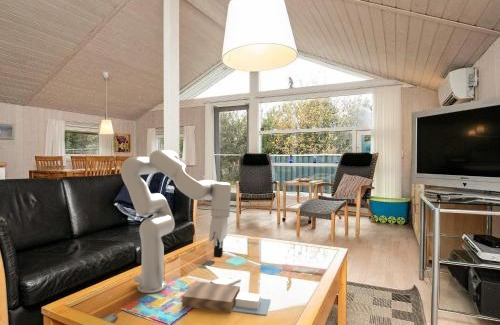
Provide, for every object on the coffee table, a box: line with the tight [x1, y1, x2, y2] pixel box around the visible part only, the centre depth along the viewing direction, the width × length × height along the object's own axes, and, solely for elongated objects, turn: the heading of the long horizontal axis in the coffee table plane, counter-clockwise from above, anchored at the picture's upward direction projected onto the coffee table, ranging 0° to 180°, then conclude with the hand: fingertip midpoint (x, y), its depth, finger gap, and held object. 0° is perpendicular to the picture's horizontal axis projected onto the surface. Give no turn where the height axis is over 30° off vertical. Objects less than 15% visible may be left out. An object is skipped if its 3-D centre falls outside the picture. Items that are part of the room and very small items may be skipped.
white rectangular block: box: [235, 291, 262, 309], centre depth 120 cm, size 9×6×3 cm, turn 78°
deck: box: [181, 281, 241, 313], centre depth 123 cm, size 20×14×4 cm
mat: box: [232, 297, 271, 317], centre depth 119 cm, size 13×12×1 cm
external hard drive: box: [209, 273, 242, 286], centre depth 141 cm, size 2×8×12 cm
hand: (217, 256), depth 122 cm, fingers closed
